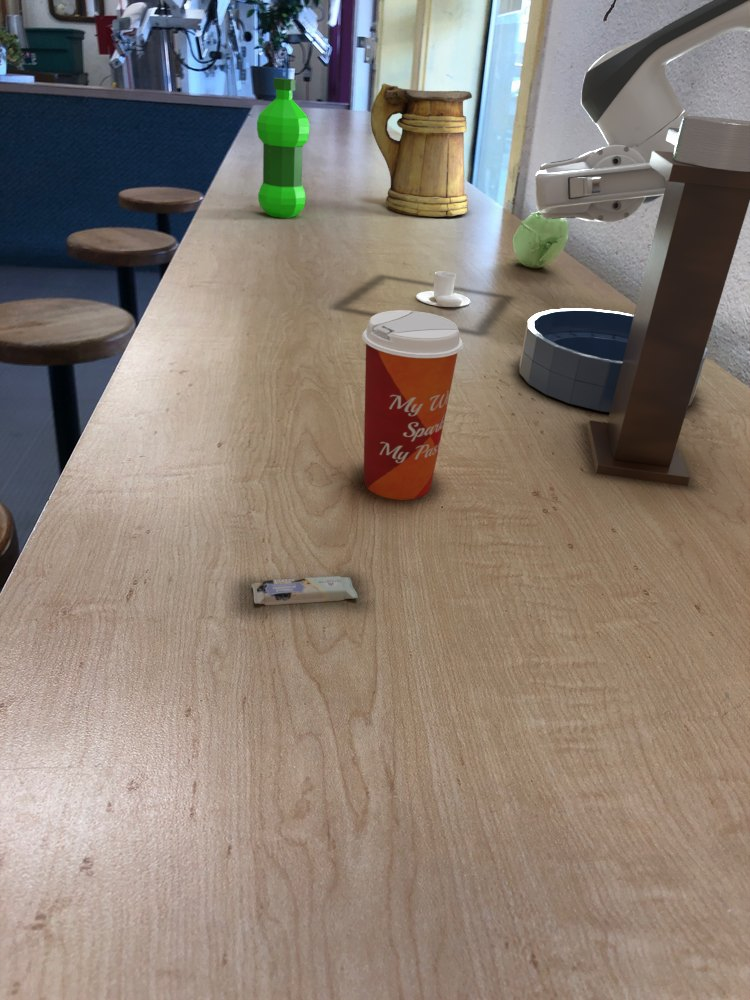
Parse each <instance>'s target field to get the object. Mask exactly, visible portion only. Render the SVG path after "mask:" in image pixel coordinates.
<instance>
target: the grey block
mask: <svg viewBox="0 0 750 1000" xmlns="http://www.w3.org/2000/svg"><path fill="white" fill-rule="evenodd" d="M666 141H667V142H669V143H671V144H673V145H674V146H675V150H674V154H673V158H672V159H673V160H674V161H677V162H680V163H684V164H689V165H694V166H700V167H706V168H714V169H722V170H730V171H742V172H750V120H742V119H733V118H724V117H722V118H721V117H714V116H713V117H712V116H700V115H699V116H697V115H688V116H683V118H682V122H681V126H680V128H669V129H668V134H667V138H666Z"/></svg>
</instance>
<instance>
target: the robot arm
mask: <svg viewBox="0 0 750 1000" xmlns="http://www.w3.org/2000/svg"><path fill="white" fill-rule="evenodd" d="M738 31H740V32H741V31H742V32H743V31H744V32H749V33H750V0H711V1H709V2H706V3H705V4H703V5H702V6H699V7H698V8H696V9H694V10H693V11H690V12H688V13H686V14H685V15H682V16H681V17H679V18H677V19H676V20H674V21H672V22H669V23H668V24H667V25H664V26H663V27H662V28H660V29H658V30H657V31H654V32H652V33H651V34H649V35H647V36H644V37H643V38H638V39H636V40H633V41H630V42H628V43H627V42H626V43H624V44H622V45H619V46H617V47H615V48H613V49H611V50H609V51H608V52H606V53H605V54H603V55H602V56H600V57H599V58H598V59H597V60H596V61H594V63H593V64H591V66H590V67H589V69H588V70H587V71H586V72H585V73H584V77H583V81H582V86H581V93H580V94H581V95H580V105H581V107H582V108H583V109H584V111H585V112H586V114H587V115H588V117H589V118H590V120H591V122H592V123H594V125H596V126H597V128H598V129H599V131H600V133H601V134H602V137H603V138H604V139H605V142H606V143H607V145H606V146H604V147H601V148H597V149H596V150H591V151H588V152H586V153H583V154H582V155H580V156H578V157H572V158H569V159H564V160H558V161H557V160H556V161H552V162H549V163H543V164H542V165H541V166H540V167H539V171H537V172H536V173H535V202H536V205H535V207H536V212H540V213H541V215H542V218H545V219H548V218H552V219H557V218H566V219H578V220H582V221H584V222H585V221H586V222H599V223H615V222H620V221H623V220H625V219H627V218H629V217H630V216H632V215H634V214H635V213H636V212H637V211H638V210H639V209H640V207H641V206H642V205H647V204H649V203H651V202H653V201H655V200H657V199H659V198H660V197H663V196H664V192H665V188H666V184H667V179H665V178H664V177H663V176H662V175H660V174H659V173H658V172H657V171H655V170H654V169H653V168H652V167H650V166H649V163H650V159H651V155H652V151H653V150H654V151H664V152H674V150H675V146H674V145H673V144H671V143H669V142H667V141H666V138H667V134H668V129H669V128H680V126H681V122H682V118H683V116H689V114H688V112H687V111H686V109H685V108H684V107H683V105H682V102H681V101H680V99H679V98H678V96H677V94H676V92H675V91H674V88H673V86H672V84H671V83H670V81H669V79H668V77H667V75H666V66H667V64H669V63H671V62H672V61H673V60H675V59H678V58H680V57H681V56H684V55H686V54H687V53H689V52H692V51H694V50H696V49H698V48H699V47H701V46H703V45H705V44H707V43H709V42H711V41H712V40H716V39H717V38H719V37H721V36H723V35H726V34H727V33H731V32H732V33H733V32H738Z"/></svg>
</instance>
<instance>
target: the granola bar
mask: <svg viewBox="0 0 750 1000" xmlns="http://www.w3.org/2000/svg"><path fill="white" fill-rule="evenodd" d="M251 588H252V591H253V602H254V604H259V605H264V606H279V605H280V606H281V605H294V604H295V605H296V604H308V603H309V604H311V603H325V602H336V601H337V602H339V601H344V600H349V599H350V600H351V599H352V600H354V599H358V598H359V597H358V593H357V591H356V589H355V588H354V587H353V581H352V580H351V577H350V576H349V577H347V576H345V577H344V576H340V575H335V576H333V575H332V576H316V577H314V576H313V577H299V578H298V577H297V578H282V579H269V580H263V581H262V582H254V583H251Z"/></svg>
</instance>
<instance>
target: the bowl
mask: <svg viewBox="0 0 750 1000" xmlns="http://www.w3.org/2000/svg"><path fill="white" fill-rule="evenodd" d="M633 317H634V314H631V313H625V312H621V311H612V310H604V309H595V308H559V309H548V310H545V311H541V312H537V313H534V315H532V316H531V317H530V318H528V319H527V321H526V326H525V331H524V337H523V343H522V348H521V354H520V359H519V366H518V367H519V368H518V369H519V375H520V376H521V377H522V378H523V380H524V381H525V382H526V383H527V384H528V385H529V386H531V387H533V388H535V389H536V390H538V391H539V392H541V393H542V394H544V395H546V396H549V397H551V398H553V399H556V400H559V401H561V402H564V403H567V404H569V405H573V406H577V407H581V408H585V409H590V410H594V411H598V412H603V413H610V410H611V406H612V402H613V398H614V394H615V390H616V386H617V382H618V378H619V374H620V370H621V366H622V362H623V358H624V354H625V349H626V345H627V341H628V337H629V333H630V329H631V325H632V321H633ZM708 353H709V349H708V348H707V347H706V348H705V352H704V355H703V358H702V362H701V365H700V368H699V372H698V375H697V378H696V382H695V385H694V388H693V392H692V395H691V398H690V402H689V405H688V407H689V406H691V405H692V403H693V400H694V399H695V395H696V393H697V389H698V386H699V383H700V380H701V376H702V373H703V369H704V367H705V363H706V359H707V356H708Z"/></svg>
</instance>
